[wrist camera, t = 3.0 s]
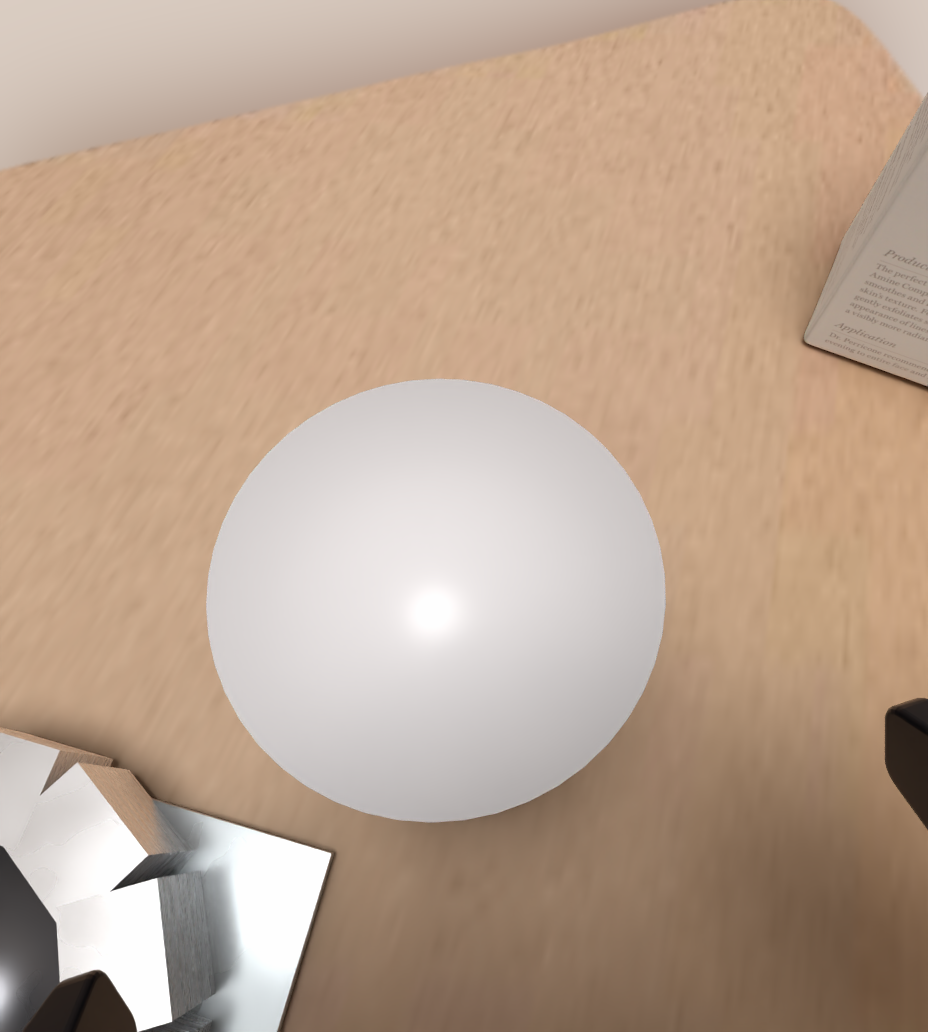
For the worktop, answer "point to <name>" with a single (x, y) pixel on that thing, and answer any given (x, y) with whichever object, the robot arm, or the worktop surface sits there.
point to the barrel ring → (144, 897)
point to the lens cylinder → (436, 600)
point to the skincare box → (884, 269)
